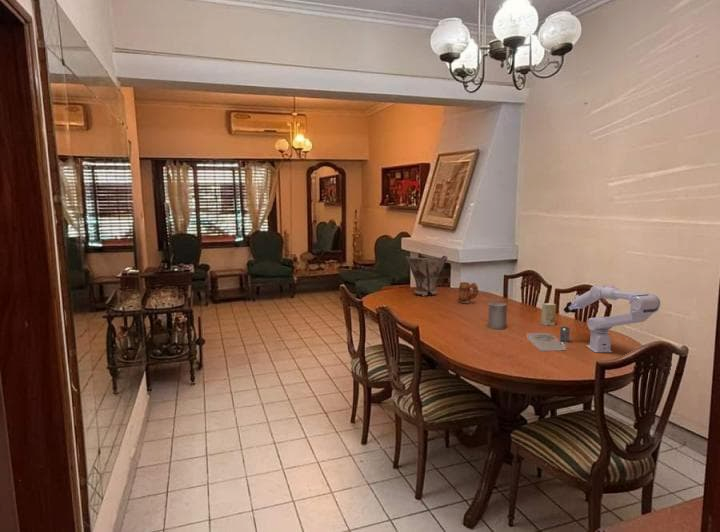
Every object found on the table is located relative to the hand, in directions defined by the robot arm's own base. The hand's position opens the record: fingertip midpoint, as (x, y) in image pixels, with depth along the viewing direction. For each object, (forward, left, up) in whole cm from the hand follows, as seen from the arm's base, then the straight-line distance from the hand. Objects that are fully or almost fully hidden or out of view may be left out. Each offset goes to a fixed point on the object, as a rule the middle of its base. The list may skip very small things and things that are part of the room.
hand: (570, 308), depth 234 cm
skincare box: (+23, +2, -16) cm, 27 cm away
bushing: (-7, +5, -15) cm, 18 cm away
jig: (-11, +16, -15) cm, 25 cm away
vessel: (+106, +62, -16) cm, 123 cm away
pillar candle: (+19, +32, -16) cm, 40 cm away
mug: (+76, +37, -16) cm, 86 cm away
